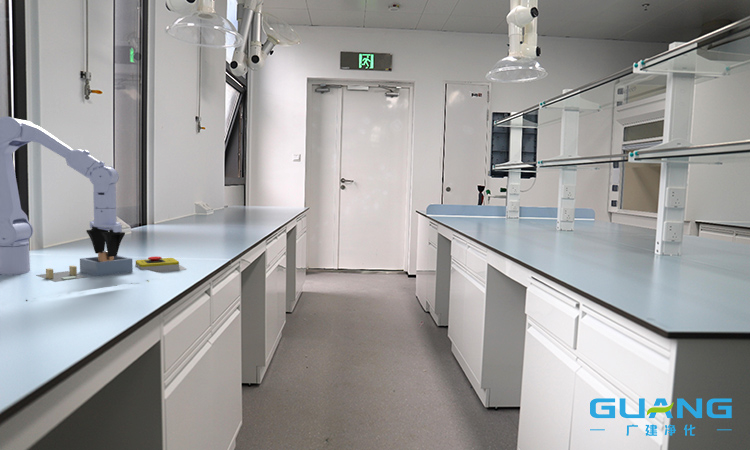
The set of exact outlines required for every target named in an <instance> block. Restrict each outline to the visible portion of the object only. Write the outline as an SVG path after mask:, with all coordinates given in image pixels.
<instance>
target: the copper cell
mask: <svg viewBox="0 0 750 450" xmlns="http://www.w3.org/2000/svg"><path fill="white" fill-rule="evenodd" d="M97 257H98V262H104V261H112V260H114V256H112V257H109V256H108V253H107V250H104V251H103V252H99V253H97Z"/></svg>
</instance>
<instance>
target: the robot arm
mask: <svg viewBox="0 0 750 450" xmlns="http://www.w3.org/2000/svg"><path fill="white" fill-rule="evenodd" d="M31 142H34V143H37V144H39V145H41V146H43V147H44V148H46V149H48V150H50V151H52V152H53V153H55V154H57V155H58V156H60V157H62V158H64V159H65V161H66V164H67V166H69V168H71V169H73V170H75V172H78V173H79V174H81V175H82V176H84V177H86V178H87V179H89V181H90V183H91V184H92V185H93V191H92V192H93V196H92V197H93V220H92V221H89V228H90V229H87V230H86V231H85V232H86V234H87V235H88V237H89V239H90V240H91V243H92V246H93V251H94V252H95V254H97V255H98V253H99V252H103V251H105V250H106V251H107V253H108V256H109V257H112V256H117V255H118V253H119V249H120V245H121V242H122V241H123V239H124V236H125V234H126V232H125V231H123V226H122V224H121V222H117V189H116V188H117V183H118V181H119V178H120V176H119V172H118V171H117V170H116V169H115V168H114V167H113V166H110V165H105V163H106V162H104V161H103V160H98V159H97V158H95V157H94V156H92V155H91V152H90V151H89V150H87V149H80V148H78V149H73V148H71V147H70V146H69V145H67V144H66V143H64V142H63V141H62V140H60V139H58V138H57V137H56V136H54V135H53V134H52V133H50V132H48V131H47V130H46V129H44V128H42V127H41V126H39V125H37V124H34V123H33V122H32V121H30V120H26V119H19V118H15V117H11V116H6V115H5V116H2V117H1V116H0V275H8V276H9V275H20V274H25V273H30V271H31V263H30V261H31V260H30V257H31V256H30V241H29V240H30V239H31V238H32V237H33V234H34V227H33V226H32V224H31V222H30V221H29V218H28V215H27V214H26V212H24V210H23V209H22V206H21V199H20V194H19V193H20V192H19V189H18V182H17V178H16V177H17V176H16V172H15V171H16V170H15V164H14V160H13V159H14V158H13V154H14V153H15V152H16V151H17V150H18V149H19V148H20V147H23V146H24V145H26V144H29V143H31ZM105 248H106V249H105Z"/></svg>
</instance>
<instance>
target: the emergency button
mask: <svg viewBox="0 0 750 450" xmlns="http://www.w3.org/2000/svg"><path fill="white" fill-rule="evenodd" d="M135 268H138V269H139V270H140V271H141V270H146V271H148V272H149V271H150V272H152V273H153V272H154V273H163V272H176V271H186V270H187V268H185V266H182V264H180V262H179V260H177V259H175V258H174V257H163V258H162V256H150V257H148V258H147V259H136V260H135Z"/></svg>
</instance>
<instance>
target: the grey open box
mask: <svg viewBox="0 0 750 450" xmlns="http://www.w3.org/2000/svg"><path fill="white" fill-rule="evenodd" d="M133 266H134V265H133V258H131V257H126V256H122V255H119V254H117V256H114V260H112V261H104V262H98V256H91V257H83V258H79V272H80V273H84V274H86V275H89V276H93V277H104V276H111V275H117V274H118V275H119V274H124V273H130V272H131V273H132V272H133Z"/></svg>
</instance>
